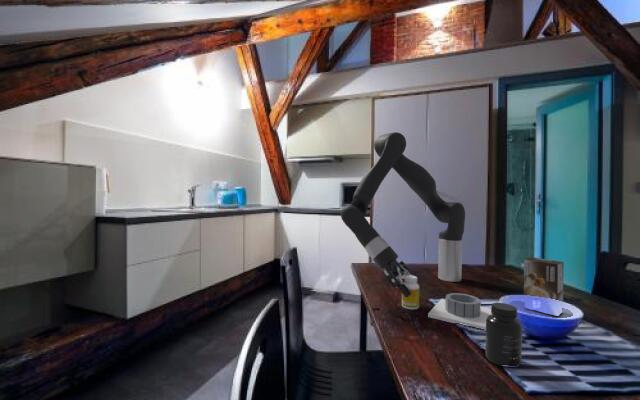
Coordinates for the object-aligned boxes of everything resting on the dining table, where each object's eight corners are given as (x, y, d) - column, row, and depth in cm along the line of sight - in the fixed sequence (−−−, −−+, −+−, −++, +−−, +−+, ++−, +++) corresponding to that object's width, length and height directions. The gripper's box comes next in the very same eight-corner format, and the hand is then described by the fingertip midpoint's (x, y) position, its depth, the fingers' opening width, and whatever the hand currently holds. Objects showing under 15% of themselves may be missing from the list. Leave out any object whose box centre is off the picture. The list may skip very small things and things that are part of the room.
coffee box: (564, 313, 93) (565, 261, 93) (557, 318, 89) (559, 264, 89) (529, 304, 100) (530, 256, 100) (522, 308, 97) (523, 258, 96)
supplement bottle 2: (478, 352, 69) (479, 300, 69) (506, 351, 70) (507, 300, 70) (498, 369, 62) (499, 312, 62) (529, 368, 63) (530, 311, 63)
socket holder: (441, 301, 102) (441, 286, 102) (495, 312, 93) (495, 296, 93) (427, 316, 89) (428, 300, 89) (489, 331, 80) (489, 313, 80)
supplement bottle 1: (420, 310, 94) (420, 279, 94) (402, 309, 95) (402, 278, 95) (417, 304, 99) (418, 275, 99) (401, 303, 100) (401, 274, 100)
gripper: (379, 248, 95) (415, 291, 89) (396, 243, 107) (428, 280, 101) (364, 262, 99) (397, 305, 92) (382, 255, 110) (412, 293, 104)
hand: (413, 292), depth 96 cm, fingers open, 8 cm apart
